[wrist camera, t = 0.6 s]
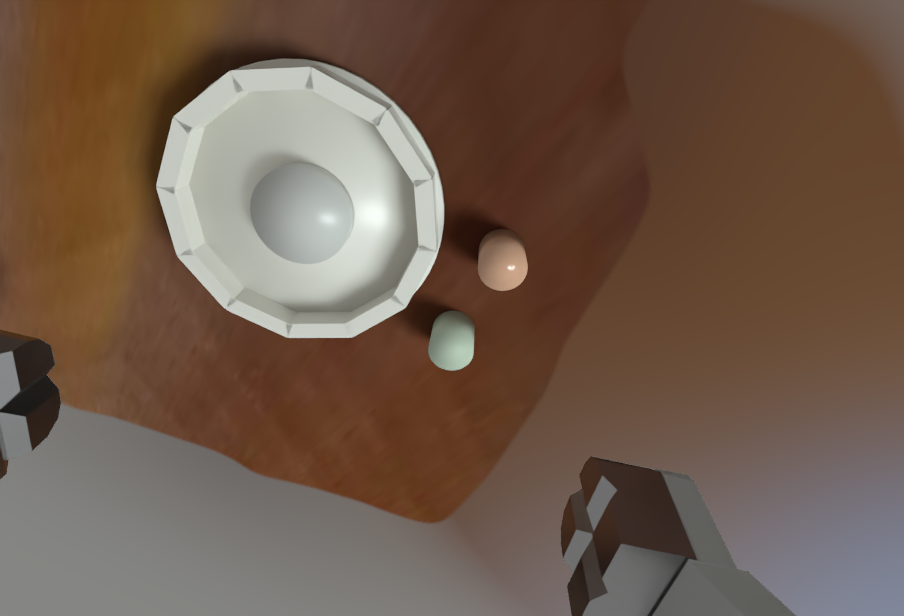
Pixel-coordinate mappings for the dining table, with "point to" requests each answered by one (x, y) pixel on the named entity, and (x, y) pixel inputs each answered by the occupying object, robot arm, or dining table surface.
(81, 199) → the dining table surface
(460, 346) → the sage bead
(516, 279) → the terracotta bead
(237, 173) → the groove tray
